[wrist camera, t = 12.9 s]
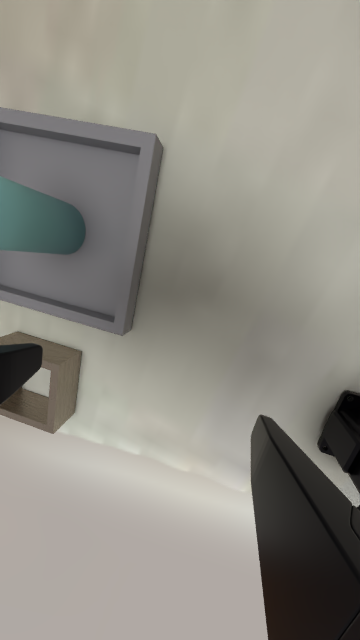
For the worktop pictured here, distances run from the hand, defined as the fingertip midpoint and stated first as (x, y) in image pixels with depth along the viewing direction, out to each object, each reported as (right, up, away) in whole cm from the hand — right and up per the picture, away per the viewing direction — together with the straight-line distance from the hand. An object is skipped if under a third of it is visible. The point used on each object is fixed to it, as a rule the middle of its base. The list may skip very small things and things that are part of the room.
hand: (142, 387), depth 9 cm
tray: (-9, +11, +13) cm, 19 cm away
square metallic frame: (-14, -3, +17) cm, 22 cm away
